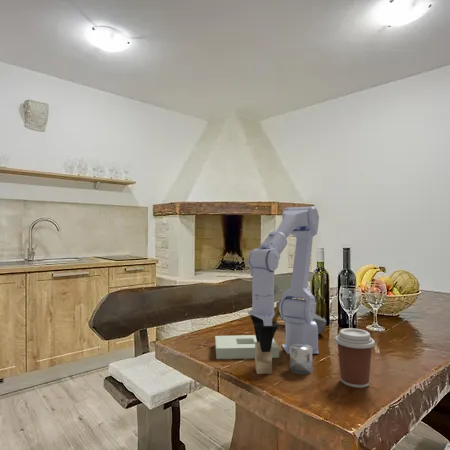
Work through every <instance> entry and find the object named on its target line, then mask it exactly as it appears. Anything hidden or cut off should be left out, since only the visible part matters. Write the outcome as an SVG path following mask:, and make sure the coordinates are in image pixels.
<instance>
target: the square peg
mask: <svg viewBox="0 0 450 450" xmlns="http://www.w3.org/2000/svg"><path fill="white" fill-rule="evenodd" d="M254 366H255V367H254V369H255V372H256V374H257V375H265V374H267V375H269V374H271V375H272V374H273V358H272V345H271V350H270V352H262V351H261V347H260V342H255V358H254Z"/></svg>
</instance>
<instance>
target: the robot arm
mask: <svg viewBox="0 0 450 450" xmlns="http://www.w3.org/2000/svg"><path fill="white" fill-rule="evenodd" d="M319 220H320V216H319V212H318V209H317V208H316V207H315V206H314V205H312V206H311V205H310V206H300V207H299V206H298V207H297V206H295V207H288V206H287V207H286V208H284V210H283V212H282V219H281V222H280V224H279V225H278V227H277V229H276V230H274V231H269V233H268V235H267V237H266V238H265V239H264V240H263V241H262V243H261V244H260V245H259V247H258V248H253V250H251V251H250V252H249V254H248V258H247V266H248V267H249V270H250V271H249V273H250V277H252V278H251V281H252V282H251V283H252V285H251V286H252V287H251V288H252V289H251V292H252V293H251V295H252V297H251V298H252V306H251V307H252V310H248V311H247V314H248V315H250V316H249V317H250V319H251V322H252V324H253V327H254V332H255V333H254V334H255V335H256V340H257V342H260V347H261V351H262V352H270V350H271V345H272V341H273V339H274V337H275V333H276V332H277V330H278V329H279V326H278V324H277V323H273V322H272V318H273V317H274V315H275V311H274V308H275V271H276V270H277V269H278V267H279V264H280V263H279V262H280V258H281V254H282V253H283V251H284V250H285V248H286V246H287V245H288V239H287V238H288V237H290V235H292V236H294V237H295V239H296V240H295V247H294V248H295V251H294V258H293V264H292V265H293V267H292V276H291V282H290V287H289V288H288V289H287V290H285V291H284V292H282V296H281V297H282V298H281V299H282V300H281V302H280V306H279V311H280V314H281V316H282V317H283V319H282V320H283V321H284V320H285V321H284V322H285V343H283V344H281V347H282V348H283V350H284V351H285V353H286V354H287V355H290V345H292V344H307V345H310V346H311V347H312V355H315V354H317V355H318V354H320V352H319V334H318V328H317V324H316V322H315V321H312V320H313V319H314V317H315V314H317V312H316V311H317V310H316V309H317V307H316V297H315V296H314V294H313V293H312V292H310V291H309V289H308V285H309V284H308V283H309V277H310V276H309V275H310V268H311V267H310V265H311V256H312V249H313V248H312V247H313V241H314V240H313V239H314V237H315V236H317V234H318V231H319V222H320V221H319Z"/></svg>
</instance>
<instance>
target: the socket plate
mask: <svg viewBox="0 0 450 450" xmlns="http://www.w3.org/2000/svg"><path fill="white" fill-rule="evenodd" d="M214 337H215V338H214V339H215V340H214V341H215V342H214V343H215V345H214V346H215V356H216V357H215V359H216V360H233V359H235V360H237V359H255V342H257V340H256V335H254V334H252V335H251V334H248V335H247V334H246V335H245V334H244V335H215V336H214ZM276 358H280V346H279V345H278V343H277V341H276V340H275V339H274V338H273V341H272V359H276Z"/></svg>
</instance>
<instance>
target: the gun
mask: <svg viewBox="0 0 450 450" xmlns="http://www.w3.org/2000/svg"><path fill="white" fill-rule="evenodd" d="M281 300H282V298H281V299H280V300H278V301H277V302H276V305H275V306H274V311H275V315H274V317H273V318H272V323H274V322H275V323H276V322H277V321H278V318H279V317H280V319H281V320H283V317H282V316H281V314H280V311H279V306H280V302H281ZM312 321H315V322H316V324H317V328H318V335H320V334H324V332H325V330H326V326H327V320H326V319H325V318H323V317H322V316H320V315H318V314H317V313H315V317H314V319H313V320H312ZM283 322H285V320H283Z"/></svg>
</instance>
